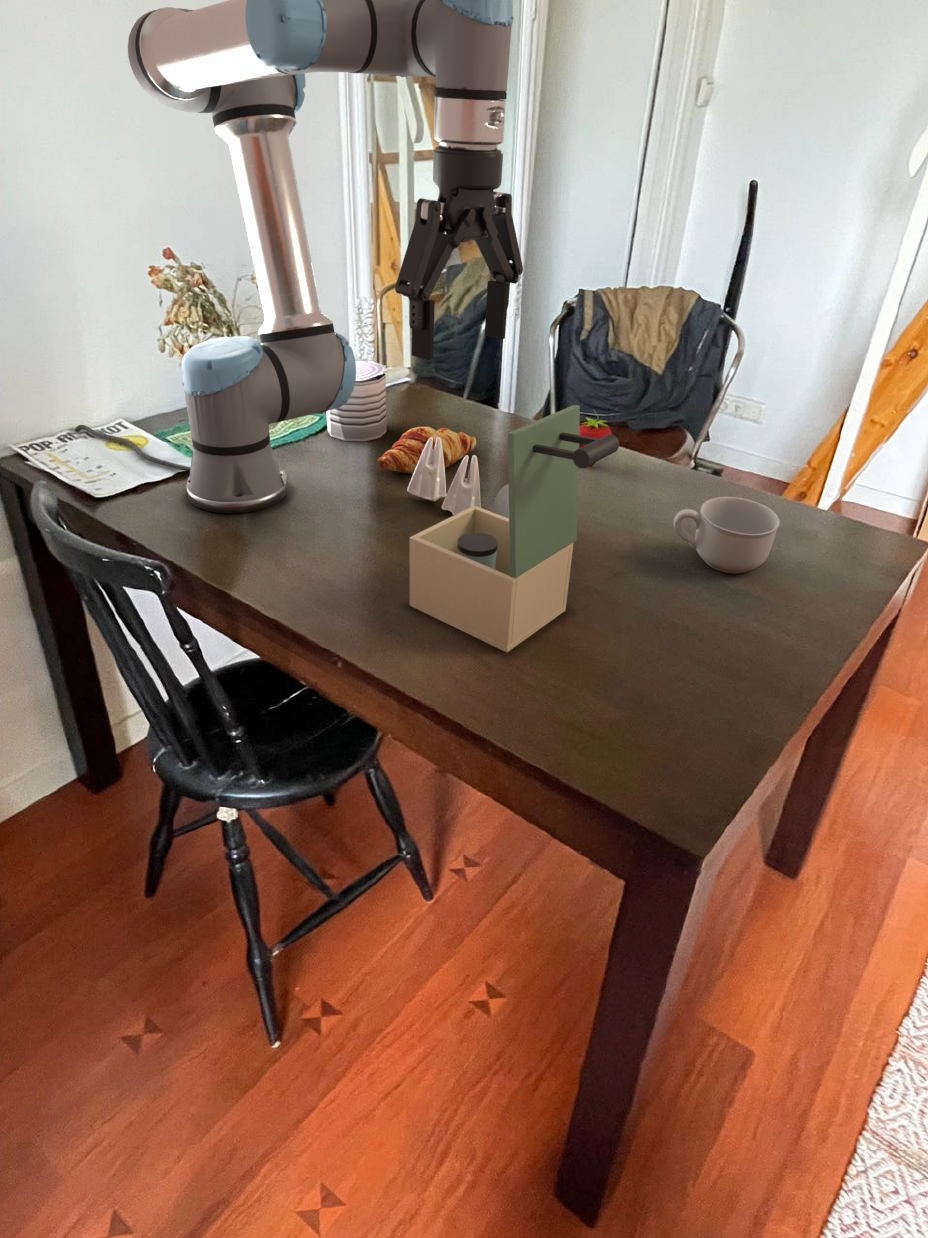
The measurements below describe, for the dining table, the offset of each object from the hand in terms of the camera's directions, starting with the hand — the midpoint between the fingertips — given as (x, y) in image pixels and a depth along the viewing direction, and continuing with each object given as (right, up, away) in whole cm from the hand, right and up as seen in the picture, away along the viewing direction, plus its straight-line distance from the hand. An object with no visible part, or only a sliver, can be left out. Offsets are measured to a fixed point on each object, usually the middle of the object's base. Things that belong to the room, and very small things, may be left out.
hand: (460, 346), depth 100 cm
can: (-20, +3, +58) cm, 61 cm away
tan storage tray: (+3, -32, +6) cm, 32 cm away
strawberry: (+23, -6, +47) cm, 53 cm away
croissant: (-6, -6, +45) cm, 46 cm away
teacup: (+37, -25, +19) cm, 48 cm away
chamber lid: (+9, -19, -8) cm, 22 cm away
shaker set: (-3, -15, +31) cm, 34 cm away
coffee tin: (+2, -30, +6) cm, 31 cm away
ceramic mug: (+11, -21, +24) cm, 33 cm away
